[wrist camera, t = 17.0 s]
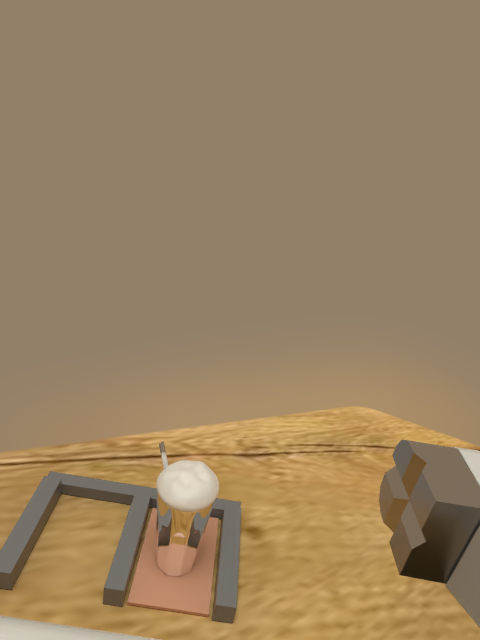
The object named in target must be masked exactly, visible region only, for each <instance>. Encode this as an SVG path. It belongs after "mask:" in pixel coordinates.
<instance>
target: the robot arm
mask: <svg viewBox="0 0 480 640" xmlns="http://www.w3.org/2000/svg"><path fill="white" fill-rule="evenodd" d="M392 456H393V458H394V461H395V464H396V466H395V467H393V468H392V469H390V470H389V471H387V472H386V473H385V475H384V478H383V481H382V483H381V487H380V497H379V503H380V512H381V515H382V519H383V522H384V523H385V524H386V525H387V526H388V527H389V528H390V529H391V530H392V531H393V532H394V533H393V536H392V538H391V540H390V545H391V549H392V552H393V555H394V558H395V562H396V565H397V568H398V571H399V575H402V576H408V577H413V578H418V579H424V580H429V581H434V582H440V583H445V584H446V587H447V588H448V590H449V591H450V592H451V593H452V595H453V596H454V597H455V598H456V599H457V601H458V602H459V603H460V604H461V605H462V607H463V608H464V609H465V610H466V612H467V613H468V614H469V615H470V616H471V618H472V619H473V620H474V621H475V622H476V624H477V625H478V626H479V627H480V452H479V451H478V450H471V449H463V448H456V447H452V448H451V447H444V446H438V445H432V444H426V443H420V442H413V441H407V440H401V441H400V442H399V443H398V445H397V446H396V448H395V451H394V453H393V455H392ZM0 640H160V639H153V638H146V637H140V636H133V635H126V634H120V633H113V632H106V631H100V630H93V629H86V628H80V627H73V626H66V625H60V624H53V623H46V622H40V621H33V620H26V619H20V618H13V617H7V616H0Z"/></svg>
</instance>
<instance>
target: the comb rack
mask: <svg viewBox="0 0 480 640" xmlns="http://www.w3.org/2000/svg"><path fill="white" fill-rule="evenodd" d="M61 494H66V495H72V496H78V497H85V498H91V499H97V500H103V501H110V502H116V503H122V504H128V505H131V507H130V510H129V513H128V516H127V519H126V522H125V525H124V529H123V532H122V535H121V538H120V541H119V544H118V547H117V550H116V553H115V556H114V559H113V562H112V565H111V568H110V571H109V575H108V578H107V581H106V584H105V587H104V597H103V604H107V605H114V606H121V607H122V606H123V602H124V599H125V595H126V591H127V588H128V584H129V580H130V577H131V573H132V570H133V566H134V562H135V559H136V555H137V552H138V548H139V544H140V541H141V537H142V534H143V530H144V526H145V523H146V519H147V516H148V512H149V508H153V509H152V512H151V516H150V520H149V524H148V527H147V531H146V535H145V538H144V542H143V546H142V550H141V553H140V557H139V561H138V564H137V568H136V572H135V576H134V579H133V583H132V587H131V590H130V594H129V598H128V602H127V605H133V606H139V607H146V608H153V609H159V610H166V611H172V612H179V613H186V614H192V615H199V616H205V617H208V616H209V609H210V599H211V589H212V579H213V569H214V559H215V549H216V539H217V529H218V519H222V520H221V530H220V541H219V552H218V562H217V573H216V584H215V595H214V605H213V616H212V620H213V621H220V622H226V623H233V619H234V615H235V612H236V608H237V587H238V566H239V544H240V523H241V508H240V503H241V502H237V501H231V500H224V499H218V498H216V500H215V503H214V506H213V509H212V512H211V515H210V517H209V520H208V523H207V526H206V529H205V533H204V536H203V539H202V542H201V546H200V549H199V552H198V555H197V559H196V561H195V563H194V565H193V567H192V569H191V571H189V572H187V573H185V574H183V575H181V576H172V575H166V574H165V573H164V572H163V571H162V570H161V569H160V568H159V567H157V561H156V526H157V489H156V488H150V487H144V486H138V485H131V484H125V483H119V482H113V481H107V480H100V479H94V478H88V477H82V476H76V475H69V474H63V473H57V472H51V471H50V472H49V474H48V476H44V478H43V479H42V481H41V483H40V484H39V486H38V488H37V490H36V491H35V493H34V495H33V496H32V498H31V500H30V501H29V503H28V505H27V507H26V508H25V510H24V512H23V513H22V515H21V517H20V518H19V520H18V522H17V524H16V525H15V527H14V529H13V530H12V532H11V534H10V535H9V537H8V539H7V541H6V542H5V544H4V546H3V547H2V549H1V551H0V588H1V589H8V590H12V588H13V586H14V584H15V582H16V580H17V578H18V576H19V574H20V573H21V571H22V569H23V567H24V565H25V563H26V561H27V559H28V557H29V555H30V553H31V551H32V549H33V547H34V545H35V544H36V542H37V540H38V538H39V536H40V534H41V532H42V530H43V528H44V526H45V524H46V522H47V520H48V518H49V517H50V515H51V513H52V511H53V509H54V507H55V505H56V503H57V501H58V499H59V497H60V495H61Z"/></svg>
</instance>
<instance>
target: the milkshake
mask: <svg viewBox="0 0 480 640" xmlns="http://www.w3.org/2000/svg"><path fill="white" fill-rule="evenodd" d="M159 447H160V452H161V456H162V461H163V466H164V470H163V471H162V472H161V473H160V475H159V477H158V479H157V526H156V561H157V567H159V568H160V569H161V570H162V571H163V572H164V573H165V574H166V575H172V576H181V575H183V574H185V573H187V572H189V571H191V569H192V567H193V565H194V563H195V561H196V559H197V555H198V552H199V549H200V546H201V542H202V539H203V536H204V533H205V529H206V526H207V523H208V520H209V517H210V515H211V512H212V509H213V506H214V503H215V500H216V498H217V495H218V490H219V483H218V479H217V476H216V475H215V473H214V472H213V471H212V470H211V469H210V468H209V467H208V466H207V465H206V464H205V463H203V462H201V461H189V460H182V461H178V462H175V463H173V464H171V465H168V460H167V455H166V451H165V446H164V442H162V443H160V444H159Z"/></svg>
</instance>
